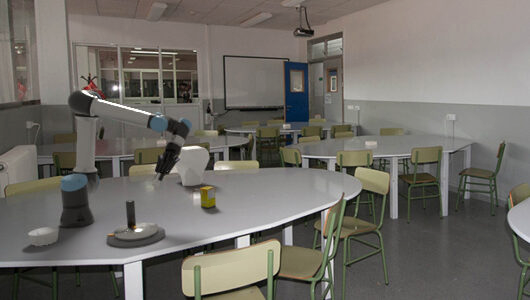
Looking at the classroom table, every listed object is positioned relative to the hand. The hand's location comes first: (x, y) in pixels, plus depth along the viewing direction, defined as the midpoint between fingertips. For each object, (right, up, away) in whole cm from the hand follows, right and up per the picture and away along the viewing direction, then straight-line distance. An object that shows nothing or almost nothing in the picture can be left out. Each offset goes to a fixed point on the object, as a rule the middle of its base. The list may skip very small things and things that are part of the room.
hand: (155, 185), depth 187 cm
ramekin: (-40, -22, -22) cm, 51 cm away
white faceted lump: (+2, -6, +92) cm, 92 cm away
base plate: (-3, -21, -18) cm, 27 cm away
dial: (-3, -19, -18) cm, 27 cm away
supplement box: (+22, -14, +27) cm, 38 cm away
